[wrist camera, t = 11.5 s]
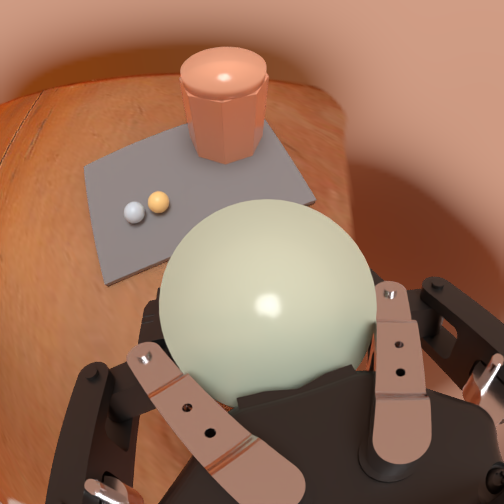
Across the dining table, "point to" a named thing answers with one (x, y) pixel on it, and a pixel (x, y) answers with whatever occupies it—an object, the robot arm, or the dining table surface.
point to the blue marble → (134, 212)
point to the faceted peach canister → (225, 102)
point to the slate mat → (176, 194)
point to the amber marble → (158, 202)
